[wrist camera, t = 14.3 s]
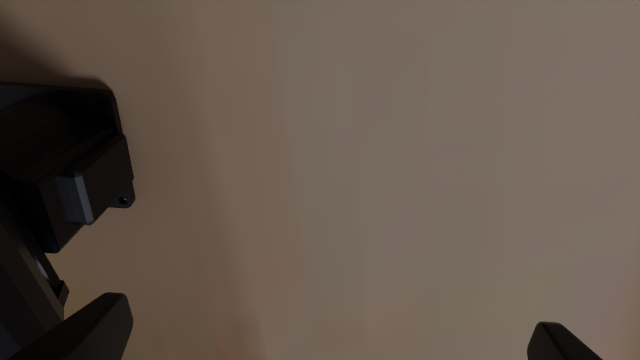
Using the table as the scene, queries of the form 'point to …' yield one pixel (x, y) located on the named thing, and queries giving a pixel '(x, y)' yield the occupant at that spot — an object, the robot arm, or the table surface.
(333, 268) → the table surface
